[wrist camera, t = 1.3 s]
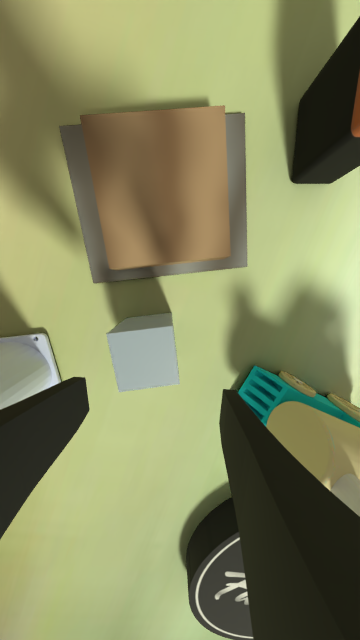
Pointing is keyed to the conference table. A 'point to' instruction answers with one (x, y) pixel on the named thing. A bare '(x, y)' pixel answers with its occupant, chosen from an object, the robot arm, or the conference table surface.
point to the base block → (159, 191)
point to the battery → (331, 118)
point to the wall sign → (219, 575)
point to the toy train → (310, 429)
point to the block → (144, 352)
